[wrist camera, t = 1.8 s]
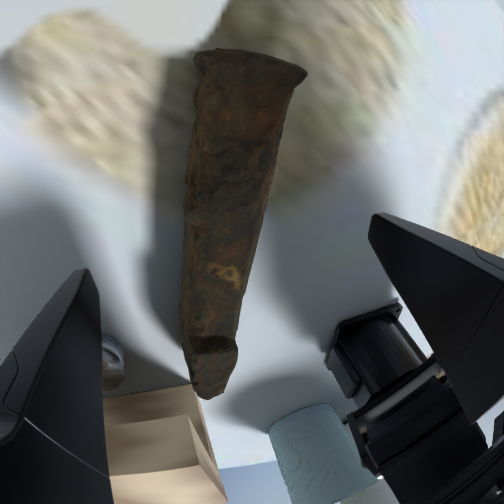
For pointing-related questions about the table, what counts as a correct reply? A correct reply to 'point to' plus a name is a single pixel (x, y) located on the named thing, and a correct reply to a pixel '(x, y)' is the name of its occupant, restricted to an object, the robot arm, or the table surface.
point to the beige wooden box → (160, 449)
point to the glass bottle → (371, 490)
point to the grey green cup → (318, 457)
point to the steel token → (112, 363)
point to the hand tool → (227, 200)
